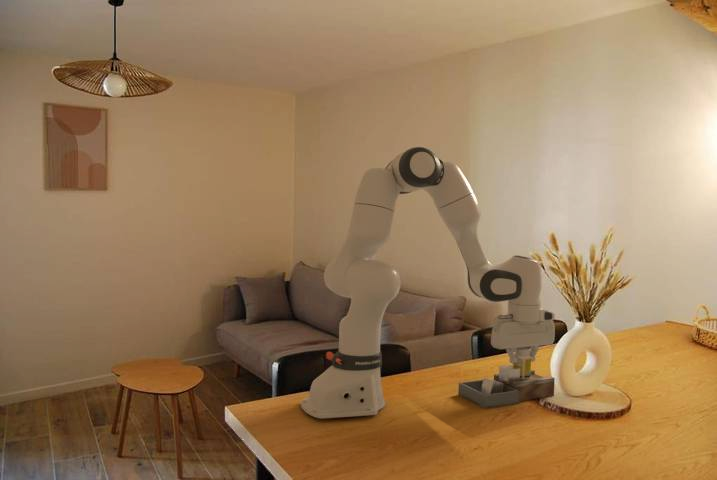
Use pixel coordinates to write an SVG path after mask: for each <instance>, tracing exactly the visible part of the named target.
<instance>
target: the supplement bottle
mask: <svg viewBox="0 0 717 480" xmlns="http://www.w3.org/2000/svg"><path fill="white" fill-rule="evenodd" d="M530 350H531V348H530V347H521V348H515V352H514V354H515V357H518V360H517V361H518V363H515V364H512V366H515V367H517V368H520V380H528V379H530V374H531V370H532V367H531V366H532V365H531V364H532V362H531V356H530V355H529V354H530Z"/></svg>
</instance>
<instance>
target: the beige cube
mask: <svg viewBox="0 0 717 480" xmlns="http://www.w3.org/2000/svg"><path fill="white" fill-rule="evenodd" d="M483 379H484V380H483ZM483 379H482V380H483V384H482V387H481V392H483V393H486V394H495V393H502V392H503V388H504V383H501V382H499V381H496V380H494V378H489V377H486V376H484V377H483Z"/></svg>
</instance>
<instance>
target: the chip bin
mask: <svg viewBox="0 0 717 480" xmlns="http://www.w3.org/2000/svg"><path fill="white" fill-rule="evenodd" d="M483 380H484V378H483V379H476V380H470V381H461V382H458V389H457V390H458V396H460V397H461V398H463V399H465V400H468V401H470V402H472V403H474V404H475V405H478V406H479V407H481V408H483V409H484V410H485V409H493V408H498V407H504V406H511V405H517V404H520V403H519V402H520V401H519V391H518V390H516V389H513V388H511V387H509V386H506V385H504V388H503V392H502V393H495V394H486V393H483V392H481V387H482V384H483Z"/></svg>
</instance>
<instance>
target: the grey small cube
mask: <svg viewBox="0 0 717 480" xmlns="http://www.w3.org/2000/svg"><path fill="white" fill-rule="evenodd" d="M498 374H499V381H502V382H504V383H506V384H512V382H517V381H520V368H517V367H515V366H513V364H509V365H508V364H507V365H506V364H505V365H499V366H498Z"/></svg>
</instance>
